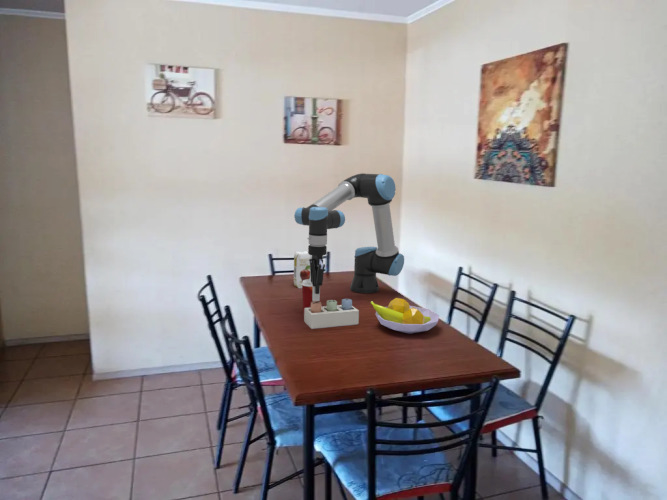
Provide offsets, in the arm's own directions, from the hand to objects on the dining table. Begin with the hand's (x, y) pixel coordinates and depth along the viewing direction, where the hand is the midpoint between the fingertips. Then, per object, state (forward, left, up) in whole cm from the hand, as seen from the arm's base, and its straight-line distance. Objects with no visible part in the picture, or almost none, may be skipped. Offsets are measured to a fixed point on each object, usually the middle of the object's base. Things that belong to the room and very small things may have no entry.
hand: (315, 300), depth 214 cm
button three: (0, 0, -7) cm, 7 cm away
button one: (-14, 0, -7) cm, 16 cm away
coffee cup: (-3, -15, -11) cm, 19 cm away
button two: (-7, 0, -7) cm, 10 cm away
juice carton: (-14, -61, -11) cm, 64 cm away
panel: (-7, 0, -10) cm, 13 cm away
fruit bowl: (-35, +14, -11) cm, 39 cm away
